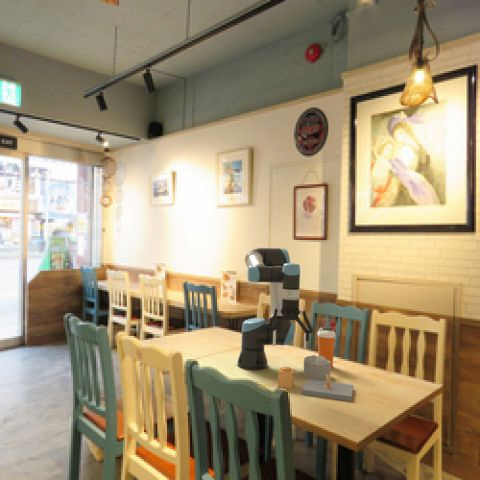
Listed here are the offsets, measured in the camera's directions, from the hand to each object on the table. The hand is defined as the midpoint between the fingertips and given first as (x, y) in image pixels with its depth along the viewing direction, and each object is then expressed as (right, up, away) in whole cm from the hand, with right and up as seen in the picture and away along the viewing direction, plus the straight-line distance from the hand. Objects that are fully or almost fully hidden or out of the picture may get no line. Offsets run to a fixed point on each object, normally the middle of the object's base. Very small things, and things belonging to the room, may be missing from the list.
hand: (289, 347), depth 178 cm
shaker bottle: (+22, -18, +29) cm, 40 cm away
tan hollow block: (-2, -17, -1) cm, 17 cm away
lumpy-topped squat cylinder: (+14, -18, +15) cm, 27 cm away
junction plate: (+16, -17, -6) cm, 24 cm away
